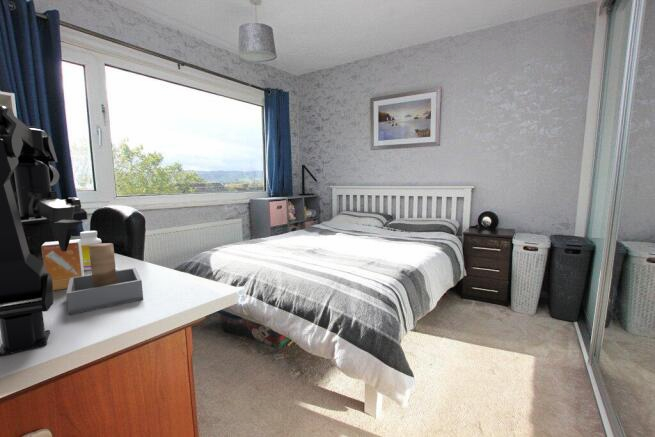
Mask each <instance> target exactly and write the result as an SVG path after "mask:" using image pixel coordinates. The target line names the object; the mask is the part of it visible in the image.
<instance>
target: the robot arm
mask: <svg viewBox="0 0 655 437" xmlns="http://www.w3.org/2000/svg"><path fill="white" fill-rule="evenodd" d="M50 163H58V158H57V154H56V152H55V146H54V144H53V140H52V137H51V136H50V135H48V134H47V132H46V131H45V130H42V129H39V128H31V127H28V126H27V125H26V124H25V123H24V122H23V121H22V120H20V119H19V118H18V117H17V116H16V115H15V113H14V112H13V109H12V108H10V107H6V106H4V105H0V337H1V344H0V357H1V356H6V355H10V354H15V353H17V352H23V351H27V350H31V349H34V348H38V347H43V346H45V345H48V340H49V338H50V334H51V330H50V329H46V330H45V321H44V315H43V312H48V311H49V310H50V309H51V307H52V306H53V305H54V290H53V281H52V276H51V274H50V273H47V270H46V267H45V263H44V258H43V256H42V254H41V255H40V254H36V255H35V254H32V253H31V252H30V248H29V246H28V242H27V238H26V235H25V231H24V227H23V225H28V224H36V223H37V224H38V223H44V222H53V227H54V229H55V235H56V238H57V241H58V242H59V246H60V248H61V251H64V252H65V251H67V248H68V245H69V241H70V240H71V239H72V238H71V237H72V235H73V233H74V231H75V229H76V228H77V227H78V226H79V225H81V224H83V223H84V221H85V220H88V218H89V217H88V212H87V211H86V210H85V209H84V208H82V204H81V199H80V198H77V197H68V198H66V199H59V197H58V193H57V191H52V186H54V185H56V184H57V183H58V182H59V180H60V173H59V171H58V169H57V168H55V166H53V165H51V164H50ZM12 175H14V181H15V182H14V183H15V189H16V192H14V190H13V187H12V184H11V182H12V181H11V177H12ZM16 198H17V201H16ZM17 204H18V205H17Z"/></svg>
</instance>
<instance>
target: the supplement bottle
mask: <svg viewBox="0 0 655 437" xmlns="http://www.w3.org/2000/svg"><path fill="white" fill-rule="evenodd" d="M79 233H80V234H79V236H80V238H81V249H82V258H83V267H84V271H91V262H90V253H89V246H91V245H95V244H103V243H102V239H101V238H100V237H99V238H98V231H97V230H84V231H81V232H79Z"/></svg>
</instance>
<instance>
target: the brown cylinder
mask: <svg viewBox="0 0 655 437" xmlns="http://www.w3.org/2000/svg"><path fill="white" fill-rule="evenodd" d="M89 253H90V262H91V270H90V271H91V275H92V280H93V288H95V287H101V286H107V285H112V284H117V276H116V268H117V266H116V259H115V257H116V256H115V249H114V243H111V242H110V243H109V242H108V243H105V242H103V243H102V244H95V245H91V246H89Z"/></svg>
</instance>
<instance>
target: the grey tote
mask: <svg viewBox="0 0 655 437" xmlns="http://www.w3.org/2000/svg"><path fill="white" fill-rule="evenodd" d="M116 276H117V284H112V285H107V286H101V287H95V288H93V280H92V274H87V275H85V274H84V276H79V277H72V278H70V280H69V284H68V288H66V294H65V295H66V302H67V308H68V315H75V314H80V313H84V312H88V311H94V310H99V309H105V308H108V307H109V308H110V307H113V306H118V305H123V304H128V303H133V302H137V301H142V300H144V291H143V281H142V279H141V277H140V274H139V272H138V270H137V269H136V267H131V268H124V269H119V270H118V269H117V271H116Z"/></svg>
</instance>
